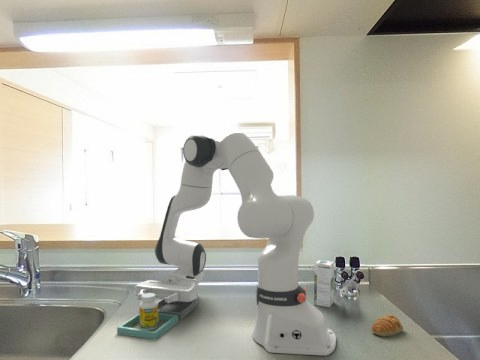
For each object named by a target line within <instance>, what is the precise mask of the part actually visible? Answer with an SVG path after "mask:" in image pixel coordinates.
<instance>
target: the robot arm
mask: <svg viewBox="0 0 480 360" xmlns="http://www.w3.org/2000/svg"><path fill="white" fill-rule="evenodd" d="M182 153H183V157H184V164H183V169H182V173H181V177H180V186H179V189H178V192H177V194H175V195H173V196H172V197H171V198H170V200H169V203H168V206H167V208H166V211H165V212H166V213H165V216H164V220H163V224H162V227H161V231H160V235H159V238H158V240H157V243H156V245H155V248H154V255H155V257H156V259H157V261H158V262H159V264H163V265H169V266H171V265H172V266H174V267H178V268H177V269H176V270H173V271H172V272H170V273H168V274H166V275H165V276H164V277H163V278H162V280H155V279H147V280H145V281H141V282H139V283H137V284H136V285H135V286H134V294H135V296H136V298H137V300H138V301H142V300H141V299H142V295H143V294H146V293H154V294H155V300H156V299H157V300H161V299H164V300H165V301H164V303H165V304H172V303H171V302H174V301H181V302H191V301H193V300H196V299H197V298H198V297H199V284H200V283H201V281H202V279H203V278H204V269H205V266H206V262H207V261H206V260H207V253H206V250H205V248H204V246H203V245H202V243H199V242H194V241H190V240H186V239H180V238H177V237H176V235H175V234H176V230H177V227H178V224H179V220H180V216H181V215H182V214H183V213H185V212H190V211H195V210H199V209H201V208H203V207H205V205H207V204H208V203H209V202H210V200H211V196H212V192H213V191H212V190H213V181H214V179H213V178H214V174H215V172H216V171H217V170H221V171H225V170H226V171H227V170H228V172H229V173H230V175H231V177H232V179H233V181H234V182H235V185H236V186H237V188H238V190H239V192H240V197H241V205H240V207H239V209H238V212H237V217H236V219H237V224H238V227H239V229H240V231H241V233H242V234H243V235H245V236H246V237H247V238H251V239H260V240H261V239H263V240H264V239H265V240H266V239H268V240H267V243H266V245H265V247H264V248H263V250H262V251H261V252H260V253H259V255H258V259H257V284H256V290H255V297H256V298H255V301H256V305H257V308H256V309H257V311H256V319H255V324H254V329H253V332H252V338H253V340H254V341H255V342H256V343H257V344H259V345H261V346H262V347H263V348H264V349H265V351H266V352H268V353H274V354H275V353H276V354H288V355H289V354H291V355H306V356H307V355H308V356H309V355H310V356H329V355H330V354H332V353H333V352H334V351H335V349H336V346H337V337H336V334H335V332H334V331H333V329H331V328H328V325H327V321H326V317H325V315H324V314H323V313H322V312H321V311H320V310H319V309H318V308H316V306H314V305H313V304H311V302H309V301H307V300H306V299H307V292H306V287H305V286H304V287H302V286H301V285H299V262H300V261H299V259H300V253H301V249H302V245H303V242H304V238H305V234H306V232H307V230H308V228H309V227H310V226H311V225H312V223H313V221H314V217H315V210H314V207H313V205H312V203H311V202H310V201H309V200H308V199H307V198H305V197H302V196H297V195H294V194H290V195H289V194H286V195H285V194H284V195H278V194H276V193H275V192H274V190H273V187H272V183H273V180H274V172H273V170H272V169H271V167H270V165H269V164H268V162H267V161H266V159H265V158H264V156H263V154H262V152H261V151H260V150H259V148H258V147H257V146H256V145H255V143H254V142H253V141H252V140H251V139H250V137H248V136H247V135H246V134H245V133H244V132H241V131H233V132H229V133H227V134H226V135H225V136H222V135H219V134H203V133H197V134H196V133H195V134H192V135H190V136H188V138H186V140H185V142H184V144H183V150H182Z"/></svg>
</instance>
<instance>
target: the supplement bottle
mask: <svg viewBox="0 0 480 360" xmlns="http://www.w3.org/2000/svg"><path fill="white" fill-rule="evenodd" d="M140 301H141V302H140V303H139V309H138V310H139V313H140V320H139V329H142V330H148V331H153V330H155V329H156V330H157V329H158V328H159V327H158V326H159V320H158V310H159V308H158V301H157V300H156V298H155V294H154V293H146V294H143V295H142V299H141V300H140Z"/></svg>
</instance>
